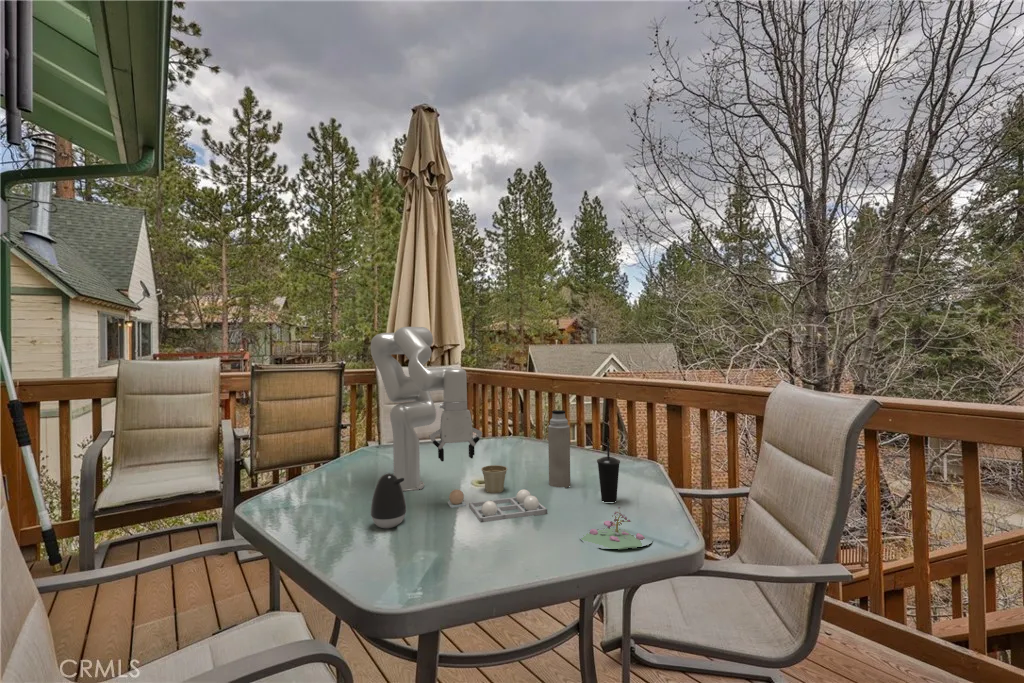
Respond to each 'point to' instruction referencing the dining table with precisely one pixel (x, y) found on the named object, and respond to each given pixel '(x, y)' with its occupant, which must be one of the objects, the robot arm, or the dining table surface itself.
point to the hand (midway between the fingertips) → (456, 459)
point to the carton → (540, 510)
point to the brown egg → (456, 497)
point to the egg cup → (456, 504)
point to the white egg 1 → (489, 508)
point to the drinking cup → (608, 477)
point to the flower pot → (494, 478)
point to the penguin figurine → (388, 502)
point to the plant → (614, 536)
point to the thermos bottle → (559, 450)
